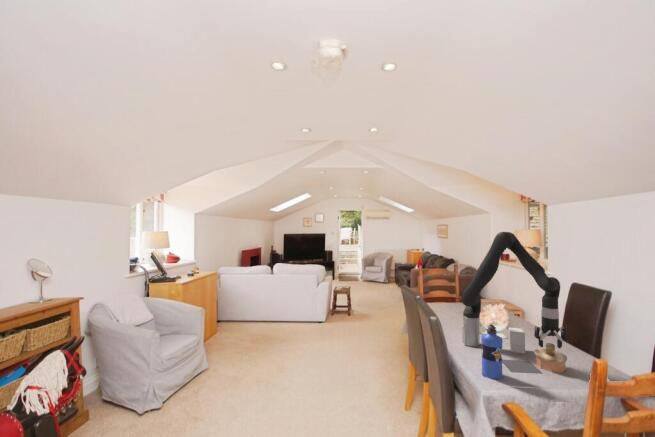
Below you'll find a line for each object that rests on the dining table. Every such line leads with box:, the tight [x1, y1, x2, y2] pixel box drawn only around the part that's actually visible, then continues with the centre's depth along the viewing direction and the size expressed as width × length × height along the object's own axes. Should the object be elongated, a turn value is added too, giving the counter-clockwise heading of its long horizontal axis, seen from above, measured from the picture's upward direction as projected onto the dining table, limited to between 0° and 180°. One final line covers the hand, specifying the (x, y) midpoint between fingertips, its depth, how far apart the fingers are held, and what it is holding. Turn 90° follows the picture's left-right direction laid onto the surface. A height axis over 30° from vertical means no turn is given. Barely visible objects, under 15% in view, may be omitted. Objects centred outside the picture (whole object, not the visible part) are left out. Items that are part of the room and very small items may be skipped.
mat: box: [502, 359, 544, 375], centre depth 172 cm, size 15×15×1 cm
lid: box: [534, 342, 568, 363], centre depth 171 cm, size 14×14×6 cm
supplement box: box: [508, 327, 526, 354], centre depth 193 cm, size 7×7×13 cm
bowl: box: [535, 355, 566, 373], centre depth 171 cm, size 12×12×6 cm
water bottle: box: [480, 324, 503, 380], centre depth 163 cm, size 9×9×25 cm
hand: (550, 347), depth 171 cm, fingers open, 8 cm apart
